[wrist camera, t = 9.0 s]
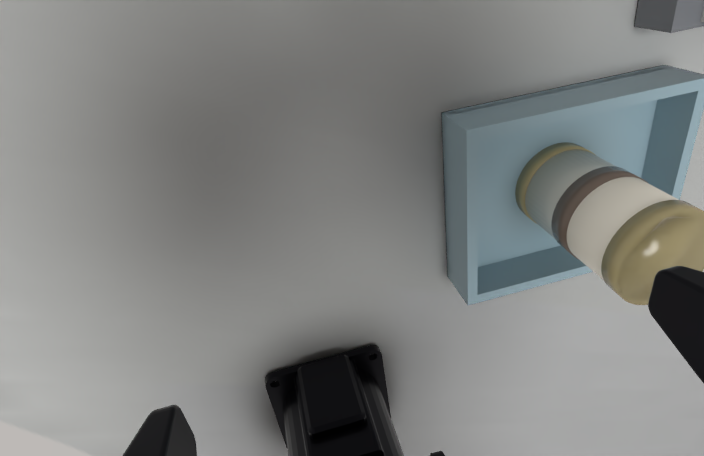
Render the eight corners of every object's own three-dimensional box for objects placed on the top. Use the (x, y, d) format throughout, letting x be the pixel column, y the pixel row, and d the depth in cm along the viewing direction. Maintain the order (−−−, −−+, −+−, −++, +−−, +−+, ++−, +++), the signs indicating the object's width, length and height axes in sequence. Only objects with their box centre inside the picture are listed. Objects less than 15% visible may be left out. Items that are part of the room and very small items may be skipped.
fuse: (586, 209, 24) (702, 289, 18) (513, 227, 24) (608, 316, 18) (597, 134, 22) (732, 197, 16) (517, 152, 22) (626, 225, 16)
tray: (630, 228, 26) (665, 251, 24) (447, 276, 25) (467, 305, 23) (664, 64, 22) (711, 76, 20) (441, 112, 20) (466, 130, 18)
